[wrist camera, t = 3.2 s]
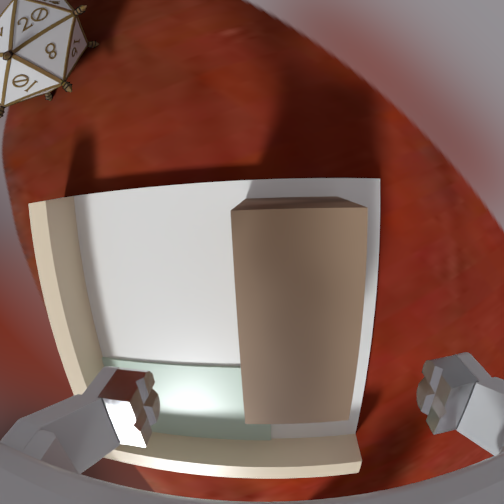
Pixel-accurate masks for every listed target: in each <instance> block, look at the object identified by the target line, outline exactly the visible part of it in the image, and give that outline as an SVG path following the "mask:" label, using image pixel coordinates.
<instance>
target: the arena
mask: <svg viewBox="0 0 504 504" xmlns="http://www.w3.org/2000/svg"><path fill="white" fill-rule="evenodd" d="M323 196H338V197H341V198H343V199H346V200H349V201H352V202H354V203H357V204H360V205H362V206H365V207H368V228H367V260H366V279H365V294H364V307H363V318H362V329H361V338H360V347H359V356H358V363H357V371H356V378H355V385H354V392H353V398H352V404H351V410H350V416H349V420H345V421H333V422H319V423H299V424H245V415H244V403H243V390H242V378H241V365H240V351H239V338H238V324H237V309H236V294H235V279H234V263H233V247H232V229H231V212H230V211H231V210H232V209H233V208H234V207H236V206H237V205H238V204H239V203H241V202H242V201H243V200H245V199H249V198H277V197H323ZM29 214H30V222H31V230H32V238H33V244H34V251H35V257H36V262H37V268H38V273H39V278H40V283H41V287H42V292H43V296H44V300H45V305H46V309H47V313H48V316H49V320H50V324H51V328H52V331H53V334H54V338H55V341H56V345H57V347H58V351H59V354H60V357H61V360H62V363H63V366H64V369H65V372H66V375H67V377H68V380H69V383H70V385H71V388H72V391H73V393H74V396H75V395H77V394H81V395H82V394H83V393H84V391H85V390H86V389H87V388H88V386H89V385H90V384H91V382H92V381H93V380H94V378H95V377H96V376H97V375H98V373H99V372H100V371H101V369H102V368H103V367H105V366H112V367H119V368H129V369H137V370H146V371H150V372H151V373H153V377H154V380H155V384H154V386H153V389H154V390H155V391H156V392H157V393H158V396H159V400H160V413H159V417H158V420H157V422H156V423H155V424H153V425H152V426H150V427H151V430H152V434H151V437H150V439H149V441H148V444H147V446H146V447H140V446H133V445H127V444H121V443H120V445H119V446H118V447H116V448H115V449H114V450H112V451H111V452H110V453H108V454H107V455H106V456H104V457H105V458H109V459H112V460H117V461H121V462H125V463H130V464H135V465H139V466H145V467H150V468H155V469H161V470H168V471H174V472H181V473H189V474H198V475H208V476H219V477H235V478H307V477H323V476H334V475H344V474H353V473H359V470H360V467H361V463H362V458H361V454H360V450H359V446H358V442H357V438H356V434H355V433H356V429H357V424H358V419H359V414H360V409H361V404H362V398H363V393H364V387H365V381H366V375H367V368H368V362H369V355H370V347H371V340H372V331H373V323H374V313H375V303H376V291H377V278H378V262H379V241H380V179H378V178H290V179H259V180H237V181H219V182H204V183H190V184H177V185H166V186H155V187H144V188H135V189H125V190H117V191H108V192H100V193H92V194H85V195H77V196H70V197H63V198H58V199H52V200H46V201H41V202H35V203H30V204H29Z"/></svg>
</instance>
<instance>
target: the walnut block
mask: <svg viewBox="0 0 504 504" xmlns="http://www.w3.org/2000/svg"><path fill="white" fill-rule="evenodd" d="M230 212H231V229H232V247H233V263H234V279H235V294H236V309H237V324H238V338H239V351H240V365H241V378H242V390H243V403H244V415H245V424H299V423H319V422H333V421H345V420H349V416H350V410H351V404H352V398H353V392H354V385H355V378H356V371H357V363H358V356H359V347H360V338H361V329H362V318H363V307H364V294H365V279H366V260H367V228H368V207H365V206H362V205H360V204H357V203H354V202H352V201H349V200H346V199H343V198H341V197H338V196H323V197H277V198H249V199H245V200H243V201H242V202H241V203H239V204H238V205H237V206H236V207H234V208H233V209H232V210H231V211H230Z"/></svg>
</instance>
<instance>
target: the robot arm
mask: <svg viewBox="0 0 504 504" xmlns="http://www.w3.org/2000/svg"><path fill="white" fill-rule="evenodd" d="M422 373H423V375H424V378H423V379H422V380H421V382H420V383H419V385H418V389H417V403H418V406H419V408H420V410H421V412H423V413H425V414H427V415H428V417H427V419H426V422H427V423H428V425H429V427H430V429H431V431H432V433H433V435H435V434H439V433H443V432H447V431H451V430H455V429H457V431H458V432H460V433H461V434H463V435H464V436H466V437H467V438H469V439H470V440H472V441H473V442H475V443H476V444H478V445H479V446H481V447H482V448H484V449H485V450H487V451H488V452H490V453H491V454H493V455H494V456H493V457H491V458H488V459H486V460H483V461H481V462H478V463H476V464H473V465H470V466H468V467H465V468H462V469H459V470H456V471H453V472H450V473H447V474H444V475H441V476H438V477H434V478H431V479H427V480H424V481H420V482H416V483H413V484H409V485H404V486H400V487H396V488H391V489H386V490H381V491H376V492H371V493H365V494H359V495H352V496H345V497H337V498H329V499H318V500H306V501H287V502H239V501H221V500H208V499H198V498H189V497H181V496H174V495H167V494H161V493H155V492H150V491H144V490H139V489H135V488H130V487H125V486H121V485H117V484H113V483H109V482H105V481H102V480H98V479H94V478H91V477H87V476H84V475H81V473H82V472H83V471H85V470H86V469H88V468H89V467H90V466H92V465H93V464H95V463H96V462H97V461H99V460H100V459H101V458H103V457H104V456H106V455H107V454H108V453H110V452H111V451H112V450H114V449H115V448H116V447H118V446H119V445H120V443H121V444H127V445H133V446H140V447H146V446H147V444H148V441H149V439H150V437H151V434H152V430H151V427H150V426H152V425H153V424H155V423H156V422H157V420H158V417H159V413H160V400H159V396H158V393H157V392H156V391H155V390H154V389H153V386H154V384H155V380H154V377H153V373H151V372H150V371H146V370H137V369H129V368H119V367H112V366H105V367H103V368H102V369H101V371H100V372H99V373H98V375H97V376H96V377H95V378H94V380H93V381H92V382H91V384H90V385H89V386H88V388H87V389H86V390H85V391H84V393H83V394H82V395H81V394H77V395H75V396H72V397H70V398H68V399H65V400H63V401H61V402H59V403H56V404H54V405H52V406H49V407H47V408H45V409H42V410H40V411H38V412H35V413H33V414H31V415H28V416H26V417H23V418H21V419H19V420H18V421H17V422H16V423H15V424H14V425H13V427H12V428H11V429H10V430H9V431H8V432H7V434H6V435H5V436H4V437H3V438H2V440H1V441H0V504H504V380H503V379H500V378H497V377H494V378H492V377H491V376H490V375H489V374H488V373H487V372H486V370H485V369H484V368H483V367H482V366H481V365H480V364H479V363H478V362H477V361H476V360H475V358H474V357H473V356H472V355H471V354H470V353H467V352H464V353H459V354H455V355H453V356H448V357H443V358H437V359H432V360H426V362H425V364H424V366H423V370H422Z"/></svg>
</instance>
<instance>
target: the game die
mask: <svg viewBox="0 0 504 504" xmlns="http://www.w3.org/2000/svg"><path fill="white" fill-rule="evenodd" d="M86 7H87V5H80V6H79V7H77V9H76V11H75V10H74V9H73V8H72V6H71V5H70V4H69V3H68V2H67V0H12V1H11V2H10V4H9V5H8V6H7V7H6V9H5V10H4V11H3V12H2V14H1V15H0V118H1V117H2V116H3V113H4V108H5V107H7V106H10V105H13V104H16V103H19V102H22V101H25V100H28V99H31V98H34V97H37V96H40V95H44V94H45V97H46V100H50V101H51V99H52V97H53V96H52V94H51V92H50V91H52V90H54V89H56V88H58V87H59V86H61V85H62V86H63V89H64V90H65V91H66V92H67V91H69V92H72V84H70V82H67V81H66V80H67V78H68V77H69V75H70V73H71V72H72V70H73V68H74V67H75V65H76V63H77V62H78V60H79V59H80V57H81V56H82V54H83V52H84V51H85V49H86V48H87V47H90V48H95V47H96V46H98V45H99V43H97V42H96V41H91V42H88V40H87V38H86V35H85V33H84V30H83V28H82V25H81V22H80V20H79V17H78V15H79V14H82V13H83V12H85V9H86Z"/></svg>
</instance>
